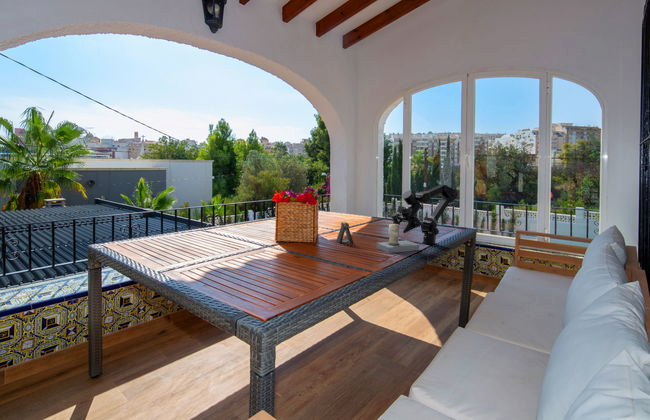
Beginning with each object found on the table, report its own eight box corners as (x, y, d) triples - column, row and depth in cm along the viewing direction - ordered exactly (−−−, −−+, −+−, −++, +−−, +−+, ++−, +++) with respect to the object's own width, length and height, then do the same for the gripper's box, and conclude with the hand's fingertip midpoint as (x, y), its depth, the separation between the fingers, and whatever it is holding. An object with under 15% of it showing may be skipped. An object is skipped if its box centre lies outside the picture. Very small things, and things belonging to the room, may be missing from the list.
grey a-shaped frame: (350, 240, 218) (350, 221, 217) (353, 242, 212) (353, 222, 211) (336, 241, 216) (336, 221, 214) (338, 243, 210) (339, 223, 209)
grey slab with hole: (406, 245, 206) (406, 240, 206) (419, 250, 195) (419, 244, 195) (376, 248, 199) (376, 242, 198) (388, 253, 188) (388, 247, 187)
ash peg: (391, 247, 200) (392, 223, 198) (400, 249, 196) (402, 224, 194) (385, 249, 196) (386, 224, 194) (395, 251, 192) (396, 226, 190)
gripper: (394, 199, 205) (379, 219, 200) (418, 202, 189) (402, 224, 185) (403, 211, 210) (389, 231, 205) (427, 215, 194) (412, 237, 190)
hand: (397, 231), depth 196 cm, fingers open, 9 cm apart
